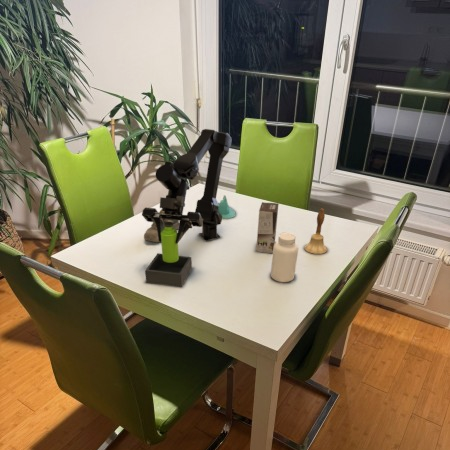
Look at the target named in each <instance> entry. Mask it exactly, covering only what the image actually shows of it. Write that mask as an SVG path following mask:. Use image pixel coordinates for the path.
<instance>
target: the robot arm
mask: <svg viewBox="0 0 450 450" xmlns="http://www.w3.org/2000/svg"><path fill="white" fill-rule="evenodd" d="M232 141H233V140H232V137H231V136H230V133H228V132H222V131H217V130H215V129H209V128H204V129H202V130H201V131H200V135H199V136H198V138H197V139H196V140H195V141H194V143H193V144H192V146H191V147H190V148H189V150H188V151H187V152H186V153H184V154H181V155H179V156H178V157H177V158H176V159H175V160H174V162H172V161H165V163H164V164H162V165H160V166H159V167H158V168H157V169H156V170H155V178H156V180H157V181H158V182H159V183H160V184H161V185H162V186H163V187H164V188H165V189H166V190H167V191H168V192H167V194H166V196H165V197H160V198H159V209H162V210H163V211H165V212H164V213H160V211H158V209H156V208H155V207H144V208H143V209H142V212H141V216H142V217H143V219H144V220H145V221H146V222H148V223H153V222H154V223H155V224H156V227H157V232H158V239H159V242H158V243H161V231H162V230H163V229H164V223H163V222H162V221H163V219H168V220H178V221H179V228H178V229H177V237H176V244H178V245H179V242H180V241H181V240H182V239H183V237H184V235H185V234H186V233H187V232H188V231H189V230H190V229H192V228H193V227H198V228H201V232H199V233H198V235H199V237H201V238H202V239H203V240H204V241H206V242H207V241H211V240H215V239H220V238H221V235H219V234H218V226H220V225H221V224H222V221H223V219H222V215H221V214H220V213H219V211H218V209H219V205H218V203H219V202H218V200H217V194H218V188H219V183H220V178H221V172H222V166H223V160H224V159H225V157H226V156H227V155H228V154H229V152H230V148H231V146H232ZM207 153H208V154H209V160H208V166H207V172H206V177H205V184H204V188H203V189H204V191H203V195H202V197H201V198H200V199H197V200H196V206H195V209H194V210H195V211H188V212H187V213H186V214H184V208H185V206H186V203H185V202H186V197H187V191H189V190H190V185H189V184H188V181H187V180H192V181H193V180H194V179H195V178H196V177H197V174H198V172H199V170H200V166H199V164H200V163H201V161H202V160H203V158H204V157H205V155H206V154H207Z"/></svg>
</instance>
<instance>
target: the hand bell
mask: <svg viewBox="0 0 450 450" xmlns="http://www.w3.org/2000/svg"><path fill="white" fill-rule="evenodd" d="M325 217H326V215H325V209H324V208H322V207H321V208H320V209H319V211H318V214H317V217H316V231H315V233H313V234H312V235H311V236H310V240H309V242H308V243H307V244H306V245H305V246H304V250H305V251H306V252H308V253H309V254H314V255H321V254H324V253H326V252H327V251H328V249H327V247H326V245H325V243H324V235H323V234H322V233H321V232H322V226H323V224H324V221H325Z"/></svg>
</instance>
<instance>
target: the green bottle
mask: <svg viewBox="0 0 450 450" xmlns="http://www.w3.org/2000/svg"><path fill="white" fill-rule="evenodd" d="M164 226H165V228H164V229H163V230H162V231H161V242H160V243H161V251H162V252H161V254H162V256H163V261H165V262H167V263H173V262H176V261H178V259H179V256H180V255H179V243H178V244H176V237H177V233H178V230H175V229H174V228H173V227H172V226H173V223H172V222H165V223H164Z"/></svg>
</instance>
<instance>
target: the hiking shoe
mask: <svg viewBox="0 0 450 450" xmlns="http://www.w3.org/2000/svg"><path fill="white" fill-rule="evenodd" d="M164 212H165V211H163V210H162V208H160V210H159V213H164ZM162 222H163V223H165V222H172V223H173V226H172V227H173V228H174V229H175V230H176V231H178V229H179V223H180V221H178V220H168V219H163V221H162ZM164 228H165V226H164ZM143 239H144V240H146V241H150V242H154V243H160V242H159V239H158V232H157V227H156V224H155V223H154V222H152V224H151V225H150V227H148V228H147V229H146V230H145V232H144V233H143Z"/></svg>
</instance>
